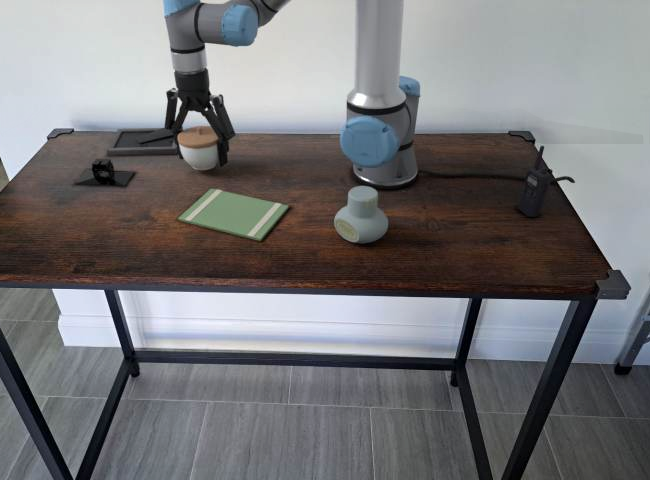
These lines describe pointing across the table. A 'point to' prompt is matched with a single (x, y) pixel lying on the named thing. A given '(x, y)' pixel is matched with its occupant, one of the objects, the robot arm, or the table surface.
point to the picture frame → (143, 142)
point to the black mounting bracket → (104, 175)
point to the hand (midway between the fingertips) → (203, 160)
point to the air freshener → (361, 217)
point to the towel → (234, 214)
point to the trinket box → (199, 147)
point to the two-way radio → (535, 188)
